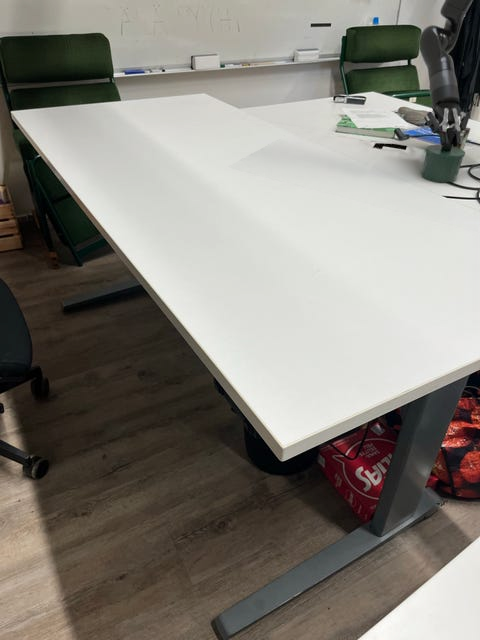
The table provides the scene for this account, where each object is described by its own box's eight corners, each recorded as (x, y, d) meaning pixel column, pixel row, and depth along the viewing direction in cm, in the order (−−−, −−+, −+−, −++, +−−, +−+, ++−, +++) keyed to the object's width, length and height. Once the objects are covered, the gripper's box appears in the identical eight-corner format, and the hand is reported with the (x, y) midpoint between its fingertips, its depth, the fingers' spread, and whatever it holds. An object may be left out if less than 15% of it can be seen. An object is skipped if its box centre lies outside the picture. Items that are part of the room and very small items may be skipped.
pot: (456, 174, 149) (464, 150, 145) (455, 184, 141) (463, 159, 137) (422, 168, 152) (428, 144, 148) (419, 178, 144) (425, 154, 140)
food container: (442, 154, 164) (451, 124, 158) (460, 158, 161) (470, 127, 155) (434, 164, 155) (443, 133, 149) (453, 169, 153) (463, 137, 147)
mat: (408, 144, 173) (408, 143, 173) (404, 153, 165) (404, 152, 164) (377, 140, 176) (378, 139, 176) (372, 148, 168) (372, 147, 168)
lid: (464, 151, 145) (472, 127, 141) (463, 162, 137) (471, 136, 133) (427, 146, 148) (433, 122, 144) (423, 156, 140) (430, 131, 136)
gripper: (427, 82, 137) (435, 139, 135) (473, 83, 139) (481, 139, 136) (415, 98, 144) (422, 152, 142) (458, 99, 146) (466, 152, 144)
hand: (451, 145), depth 139 cm, fingers closed on lid, 3 cm apart
